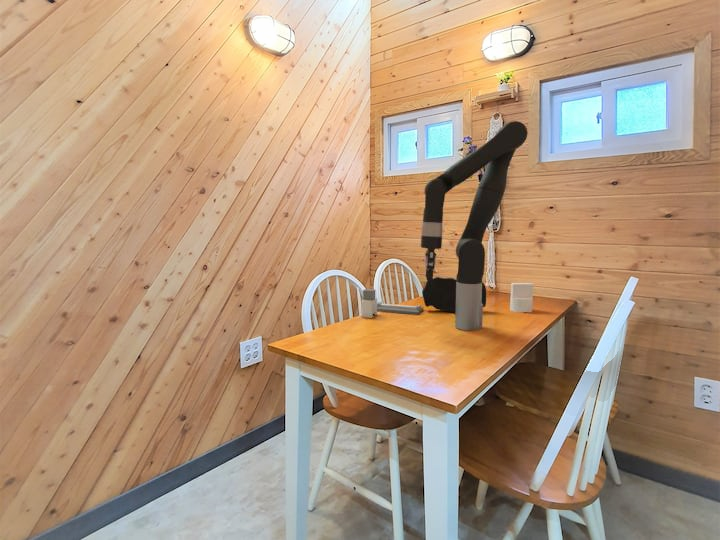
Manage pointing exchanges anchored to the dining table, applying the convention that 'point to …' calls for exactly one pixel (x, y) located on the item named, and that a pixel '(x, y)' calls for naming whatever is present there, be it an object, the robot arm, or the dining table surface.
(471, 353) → the dining table surface
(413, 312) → the rail plate
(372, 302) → the din module
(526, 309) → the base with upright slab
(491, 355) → the dining table surface
